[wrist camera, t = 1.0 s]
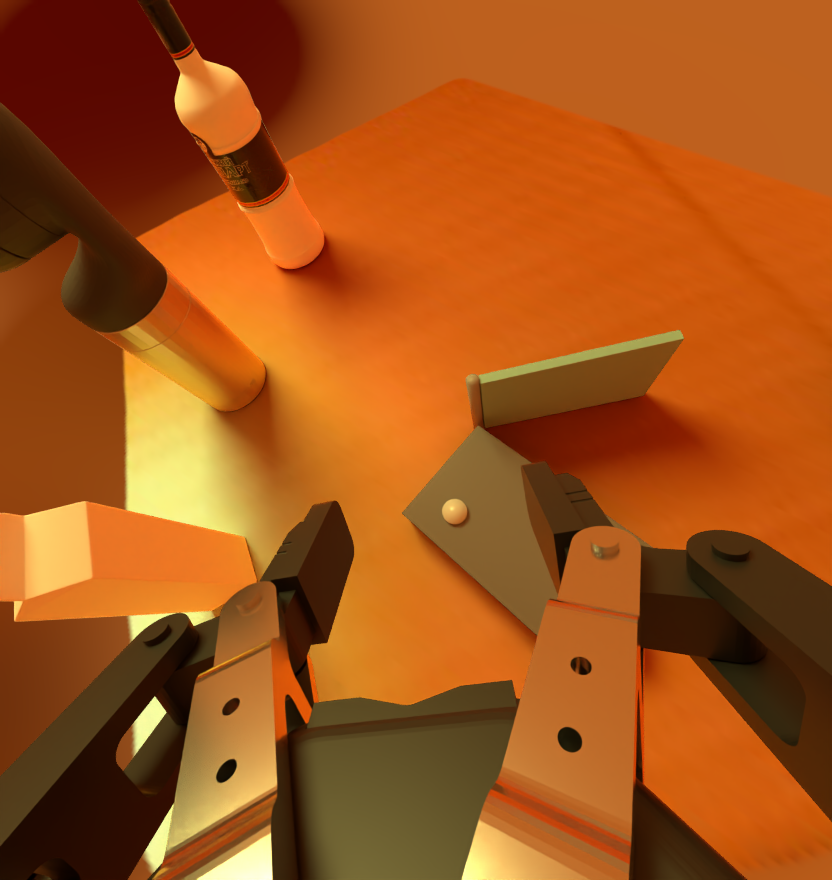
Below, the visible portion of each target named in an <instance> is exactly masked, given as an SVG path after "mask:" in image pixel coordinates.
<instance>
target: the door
mask: <svg viewBox="0 0 832 880" xmlns="http://www.w3.org/2000/svg"><path fill="white" fill-rule="evenodd" d="M683 339H684V337H683V335H682V333H681V331H680V330H677V331H672V332H668V333H663V334H659V335H655V336H650V337H646V338H641V339H637V340H632V341H628V342H624V343H619V344H615V345H610V346H606V347H602V348H597V349H593V350H588V351H584V352H579V353H575V354H571V355H566V356H562V357H557V358H553V359H548V360H544V361H540V362H535V363H531V364H526V365H522V366H517V367H513V368H509V369H504V370H500V371H495V372H491V373H487V374H482V375H478V376H479V377H478V376H477V375H476V374H471V375H469V376H467V378H466V385H467V390H468V396H469V402H470V408H471V414H472V419H473V425H474V429H475V428H476V427H477V426H480V427H481V428H483V429H484V426H485V428H489V427H494V426H499V425H503V424H508V423H513V422H518V421H523V420H528V419H533V418H537V417H542V416H547V415H552V414H557V413H562V412H566V411H571V410H576V409H581V408H586V407H591V406H596V405H600V404H605V403H610V402H615V401H620V400H625V399H629V398H634V397H639V396H644V395H645V393H646V392H647V390H648V389H649V387H650V386H651V385H652V383H653V382H654V380H655V379H656V378H657V376H658V375H659V373H660V372H661V370H662V369H663V368H664V366H665V365H666V363H667V362H668V361H669V359H670V358H671V356H672V355H673V354H674V352H675V351H676V349H677V348H678V346H679V345H680V344H681V342H682V341H683Z"/></svg>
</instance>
